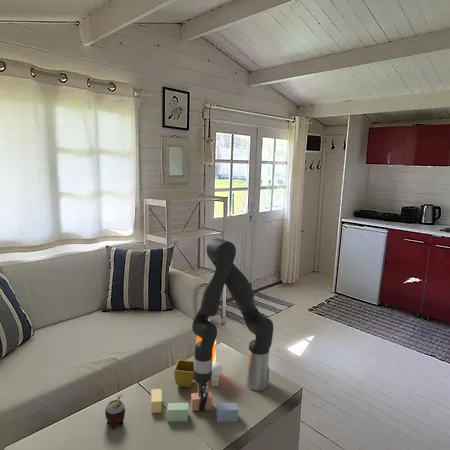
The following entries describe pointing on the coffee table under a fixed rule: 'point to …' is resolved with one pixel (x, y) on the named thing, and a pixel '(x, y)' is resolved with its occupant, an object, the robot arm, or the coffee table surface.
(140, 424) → the coffee table surface
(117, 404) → the mate gourd
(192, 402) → the terracotta brick
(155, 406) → the ochre brick
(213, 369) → the lightbulb
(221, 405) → the slate brick
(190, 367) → the flower pot
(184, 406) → the sage brick
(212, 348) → the orange juice
